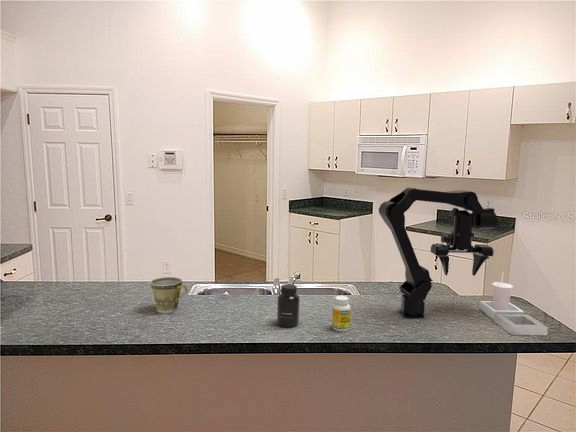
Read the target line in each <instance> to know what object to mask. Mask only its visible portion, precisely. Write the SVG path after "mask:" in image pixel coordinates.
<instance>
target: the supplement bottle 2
mask: <svg viewBox="0 0 576 432" xmlns="http://www.w3.org/2000/svg"><path fill="white" fill-rule="evenodd" d="M349 300H350V299H349V297H348V296H346V295H337V296H335V297H334V302H335V303H333V305H332V325H331V326H332V329H333V330H334V331H337V332H348V331H349V330H351V329H350V328H351V313H352V312H351V305H350V304H349Z"/></svg>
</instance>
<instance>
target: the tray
mask: <svg viewBox="0 0 576 432" xmlns="http://www.w3.org/2000/svg"><path fill="white" fill-rule="evenodd" d="M479 311H480V312H482V313H484V314H485V316H487V317H488V318H491V320H493V321H494V316H495V314H525V311H524V310H522V309H521V308H519V307H517V306H516V305H514V304H513V303H511V302H510V301H509V304H508V308H507V311H499V310H494V307H493V300H492V301H488V300H486V301H485V300H480V302H479Z"/></svg>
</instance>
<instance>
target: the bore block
mask: <svg viewBox="0 0 576 432" xmlns="http://www.w3.org/2000/svg"><path fill="white" fill-rule="evenodd" d="M493 322H494V323H495V324H497V325H498V326H499V327H501V328H502V329H503V330H504V331H505V332H507V333H508V334H509V335H511V336H547V335H548V329H549V328H548V326H546V325H545V324H543V323H542V322H540V321H538V320H537V319H536V318H533V317H532V316H531V315H529V314H527V313H526V314H525V313H524V314H495V316H494V320H493Z"/></svg>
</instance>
